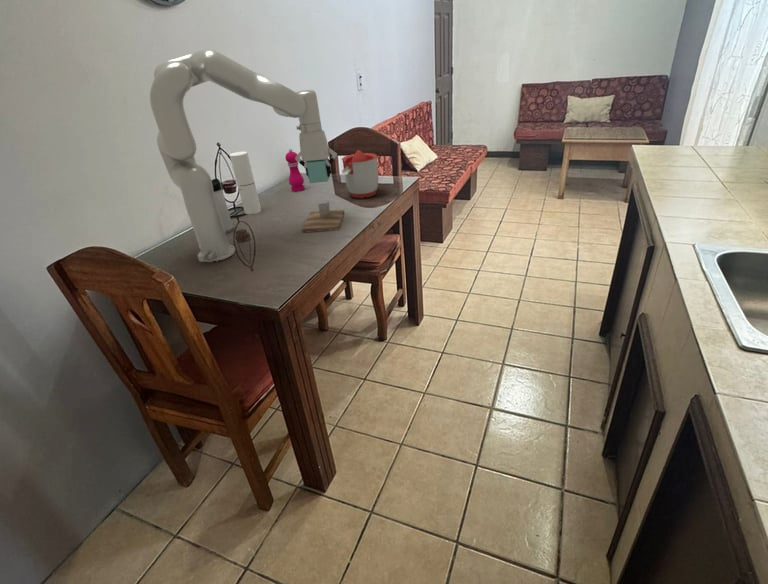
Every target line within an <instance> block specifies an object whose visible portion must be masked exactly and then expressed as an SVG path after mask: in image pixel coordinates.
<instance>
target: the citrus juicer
mask: <svg viewBox="0 0 768 584" xmlns="http://www.w3.org/2000/svg"><path fill="white" fill-rule="evenodd" d="M377 157H378V154H375V153H371V152H363V151H361V150H360V149H358V150H356V151H355V153H353V154H349V155H345V156H344V157H343V156H342V159H341V161H342V166H343V169H342V170H341V172H342V173H341V174H343V175H344V179H345V180H344V181H345V185H346V188H347V190H348V193H349V195H350V196H351V198H355V199H365V198H364V197H366V198H369V197H373V196H375V195H376V194H377V191H378V187H379V169H378V168H379V167H378V158H377Z"/></svg>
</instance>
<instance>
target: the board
mask: <svg viewBox="0 0 768 584" xmlns="http://www.w3.org/2000/svg"><path fill="white" fill-rule="evenodd" d="M343 215H345V209H335V210H333V209H332V210H330V216H328V217H320V211H319V210H318V211H310V213H309V215H308V216H307V219H306V220H305V222H304V225H303V226H302V233H308V232H307V231H316V232H319V231H318V230H329V229H339V228H340V229H341V227H340V225H341V226H342V223H343V220H342V218H343V219H344V216H343ZM341 222H342V223H341Z"/></svg>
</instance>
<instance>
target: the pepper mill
mask: <svg viewBox="0 0 768 584" xmlns="http://www.w3.org/2000/svg"><path fill="white" fill-rule="evenodd" d="M297 155H298V153H297V152H295V151H293V148H289V149H288V152H287V153H286V154H285V161H286V162H287V166H288V167H289V177H288V184H289V185H290V186H291V187H290V188H291V191H292V192H293V193H299V192H298V191H300V192H302V191H305V185H304V184H305V183H304V182H305V179H304V177H303V175H302V173H301V172H300V169H299V162H298V161H297V160H295V157H296V156H297Z"/></svg>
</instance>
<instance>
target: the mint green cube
mask: <svg viewBox="0 0 768 584" xmlns="http://www.w3.org/2000/svg"><path fill="white" fill-rule="evenodd" d="M306 165H307V170H308V175H309V178H308V180H309V181H308V182H309V184H313V183H314V184H315V183H317V184H318V183H327V182H329V180H330V177H328V175H327V169H326V166H327V165H326V163H325V160H320V161H308V162H306Z"/></svg>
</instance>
